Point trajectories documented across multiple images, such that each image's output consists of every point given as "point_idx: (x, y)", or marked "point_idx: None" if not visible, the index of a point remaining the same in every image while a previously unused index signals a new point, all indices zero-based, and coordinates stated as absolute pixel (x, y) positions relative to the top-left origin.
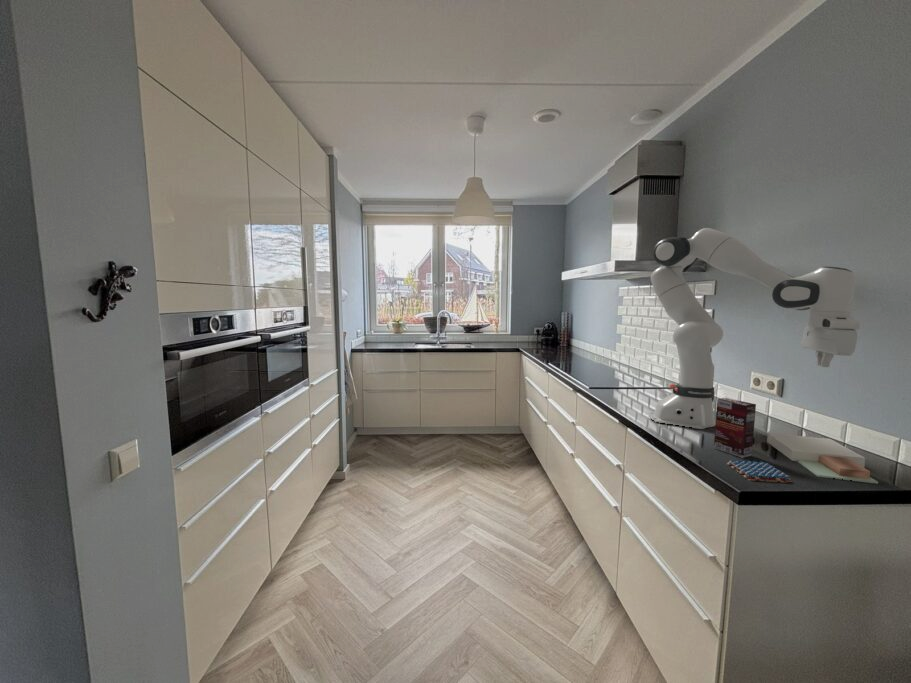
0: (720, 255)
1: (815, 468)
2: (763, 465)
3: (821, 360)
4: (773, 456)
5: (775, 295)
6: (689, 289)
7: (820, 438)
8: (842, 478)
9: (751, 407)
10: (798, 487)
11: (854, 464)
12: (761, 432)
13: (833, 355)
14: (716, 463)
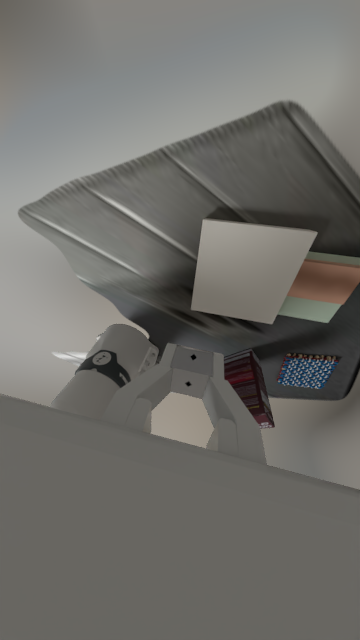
0: None
1: (306, 311)
2: (298, 365)
3: (203, 402)
4: (252, 327)
5: None
6: None
7: (204, 238)
8: None
9: (269, 416)
10: (349, 358)
11: (334, 271)
12: (144, 283)
13: (261, 438)
14: (274, 385)
